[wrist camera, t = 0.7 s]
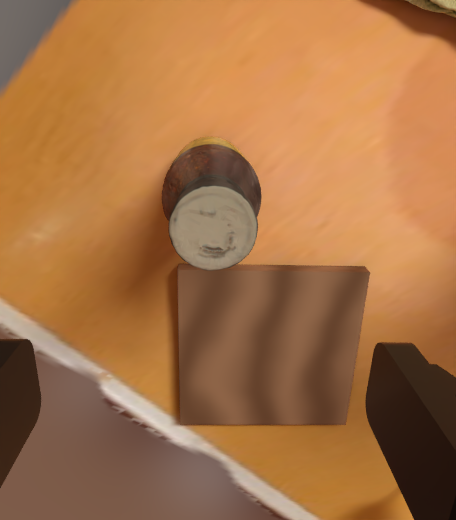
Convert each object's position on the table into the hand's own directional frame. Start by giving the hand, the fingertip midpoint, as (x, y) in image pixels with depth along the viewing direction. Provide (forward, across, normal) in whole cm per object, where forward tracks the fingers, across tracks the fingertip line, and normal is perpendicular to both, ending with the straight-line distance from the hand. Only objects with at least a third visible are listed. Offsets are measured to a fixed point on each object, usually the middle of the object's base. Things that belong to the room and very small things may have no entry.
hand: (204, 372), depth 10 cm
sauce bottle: (+30, 0, 0) cm, 30 cm away
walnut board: (+29, -6, +18) cm, 35 cm away
